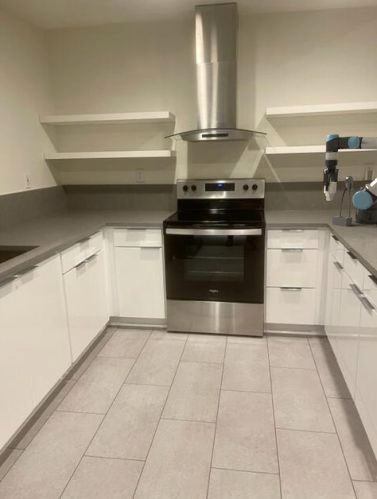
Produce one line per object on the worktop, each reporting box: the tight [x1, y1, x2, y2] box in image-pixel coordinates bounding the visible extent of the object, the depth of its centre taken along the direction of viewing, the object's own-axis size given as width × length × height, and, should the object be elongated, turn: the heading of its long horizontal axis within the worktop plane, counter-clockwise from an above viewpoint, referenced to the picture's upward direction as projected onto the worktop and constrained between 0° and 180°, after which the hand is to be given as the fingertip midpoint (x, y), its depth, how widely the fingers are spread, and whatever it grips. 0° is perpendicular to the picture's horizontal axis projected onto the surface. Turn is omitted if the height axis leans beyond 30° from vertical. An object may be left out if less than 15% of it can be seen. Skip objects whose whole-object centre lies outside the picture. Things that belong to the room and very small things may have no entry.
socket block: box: [331, 215, 353, 227], centre depth 245 cm, size 6×10×5 cm, turn 35°
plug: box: [323, 181, 338, 202], centre depth 249 cm, size 4×6×12 cm
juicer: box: [338, 175, 358, 218], centre depth 257 cm, size 10×11×30 cm
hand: (329, 195), depth 249 cm, fingers closed on plug, 4 cm apart
